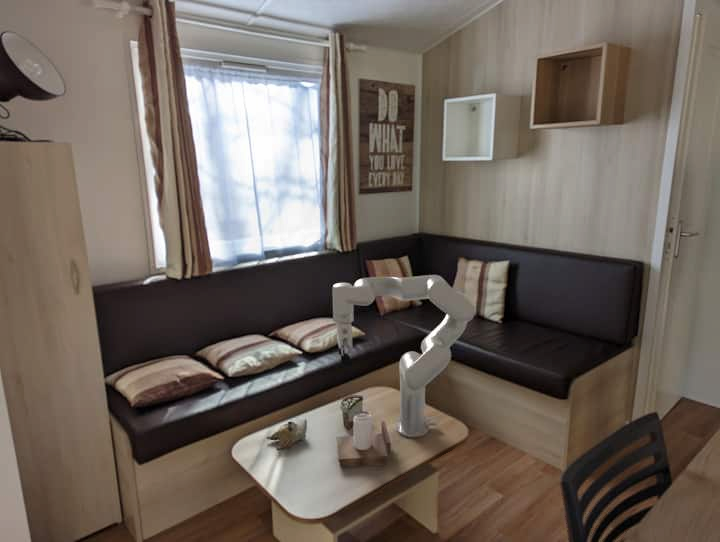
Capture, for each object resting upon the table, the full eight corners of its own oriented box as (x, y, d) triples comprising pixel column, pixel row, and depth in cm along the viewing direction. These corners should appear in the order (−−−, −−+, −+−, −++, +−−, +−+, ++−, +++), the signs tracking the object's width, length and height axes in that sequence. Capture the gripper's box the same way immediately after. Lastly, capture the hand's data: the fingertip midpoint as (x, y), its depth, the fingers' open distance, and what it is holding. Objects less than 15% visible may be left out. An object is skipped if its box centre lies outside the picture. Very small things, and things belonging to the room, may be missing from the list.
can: (364, 453, 176) (364, 422, 173) (350, 446, 180) (349, 416, 177) (375, 444, 181) (375, 414, 178) (361, 438, 185) (360, 408, 182)
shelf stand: (384, 442, 189) (384, 421, 187) (390, 465, 176) (390, 442, 173) (336, 446, 187) (336, 424, 185) (338, 469, 174) (338, 446, 172)
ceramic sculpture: (312, 421, 188) (275, 436, 180) (314, 442, 190) (278, 457, 183) (299, 409, 197) (263, 423, 189) (301, 429, 199) (266, 443, 191)
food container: (350, 413, 210) (350, 391, 208) (363, 417, 207) (363, 395, 205) (334, 427, 200) (333, 404, 197) (347, 431, 197) (347, 408, 194)
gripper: (356, 323, 177) (356, 369, 182) (351, 308, 194) (351, 350, 198) (335, 325, 177) (336, 370, 181) (331, 309, 193) (332, 351, 197)
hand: (344, 359), depth 189 cm, fingers open, 9 cm apart
